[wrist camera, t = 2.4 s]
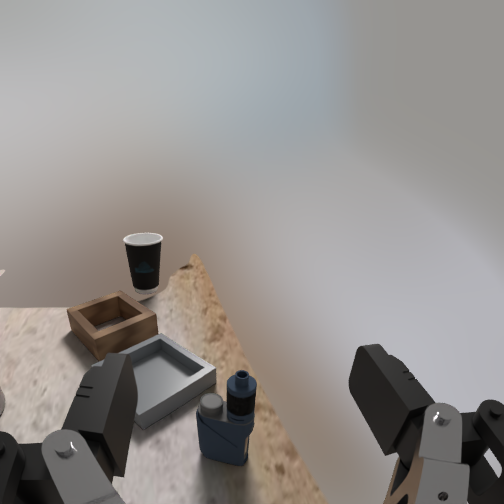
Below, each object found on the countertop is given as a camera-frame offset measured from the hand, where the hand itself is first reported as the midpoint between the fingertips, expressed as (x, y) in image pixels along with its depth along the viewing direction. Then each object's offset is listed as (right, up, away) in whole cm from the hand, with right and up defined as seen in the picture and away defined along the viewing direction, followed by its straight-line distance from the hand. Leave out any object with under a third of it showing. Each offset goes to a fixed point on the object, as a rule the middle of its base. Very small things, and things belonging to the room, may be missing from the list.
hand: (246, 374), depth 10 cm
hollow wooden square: (-22, -9, +35) cm, 43 cm away
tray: (-12, -13, +26) cm, 31 cm away
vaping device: (-3, -17, +17) cm, 24 cm away
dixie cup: (-22, -4, +52) cm, 56 cm away
